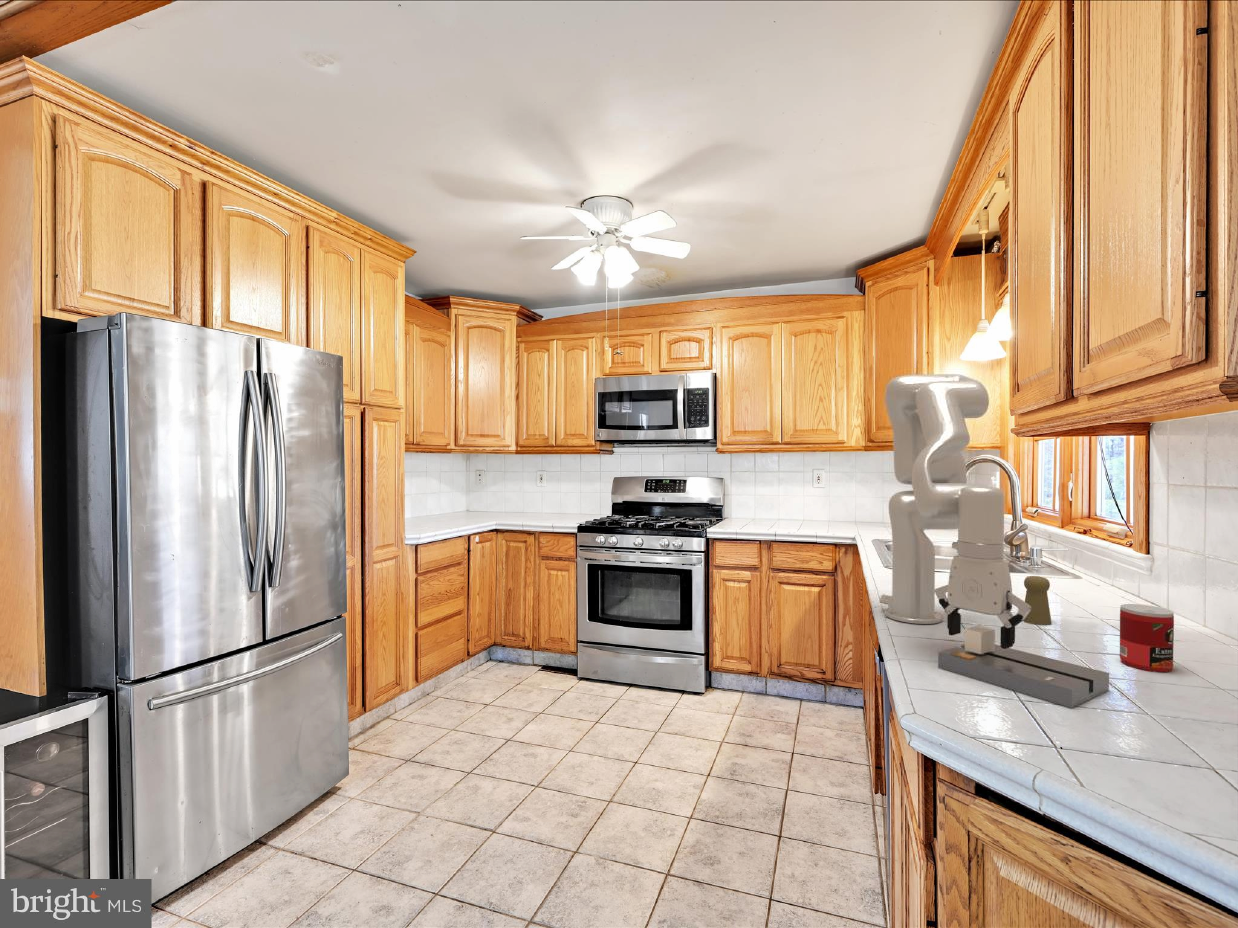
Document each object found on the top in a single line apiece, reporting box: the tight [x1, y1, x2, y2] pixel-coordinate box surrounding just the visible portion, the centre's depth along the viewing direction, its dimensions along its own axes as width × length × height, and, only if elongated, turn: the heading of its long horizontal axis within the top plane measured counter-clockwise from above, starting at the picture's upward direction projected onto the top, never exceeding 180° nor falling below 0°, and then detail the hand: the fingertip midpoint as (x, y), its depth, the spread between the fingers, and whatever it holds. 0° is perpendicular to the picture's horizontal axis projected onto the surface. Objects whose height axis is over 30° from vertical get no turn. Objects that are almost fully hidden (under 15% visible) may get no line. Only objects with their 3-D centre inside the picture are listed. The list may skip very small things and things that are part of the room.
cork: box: [1022, 575, 1052, 626], centre depth 148 cm, size 6×6×11 cm
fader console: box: [937, 643, 1110, 709], centre depth 111 cm, size 22×14×3 cm, turn 32°
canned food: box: [1119, 603, 1175, 673], centre depth 117 cm, size 8×8×11 cm
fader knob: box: [964, 625, 996, 654], centre depth 117 cm, size 3×5×6 cm, turn 122°
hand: (979, 640), depth 117 cm, fingers open, 9 cm apart
